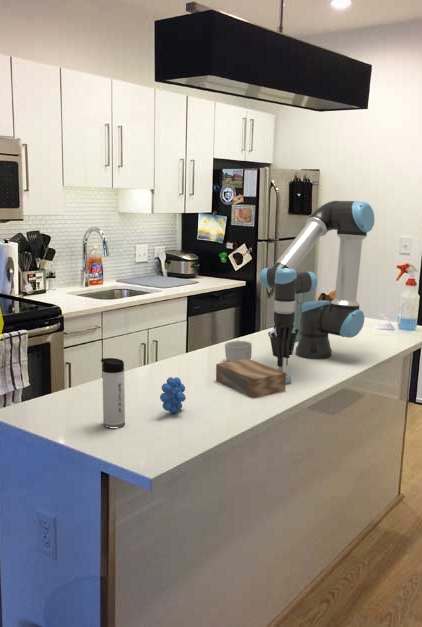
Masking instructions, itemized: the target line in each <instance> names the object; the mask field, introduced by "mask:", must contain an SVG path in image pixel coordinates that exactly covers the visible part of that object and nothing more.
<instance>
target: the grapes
mask: <svg viewBox="0 0 422 627" xmlns="http://www.w3.org/2000/svg"><path fill="white" fill-rule="evenodd" d="M161 390H162V393H161V394H160V395H159V399H160V401H161V402H162V408H163V410H164V411H165V412H167V411H168V412H169V413H170V414H175V413H176V412H177V411H180V410H182V408H183V402H184V401H185V400H186V398H187V397H186V395H185V391H186V386H185V385H184V383H182V381H181V378H180V377H172V376H170V377H168V378H167V379H166V383H165V382H164V383H163V384H162V385H161Z"/></svg>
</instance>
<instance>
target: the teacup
mask: <svg viewBox="0 0 422 627" xmlns="http://www.w3.org/2000/svg"><path fill="white" fill-rule="evenodd" d="M252 345H253V343H252V342H251V341H247V340H246V341H245V340H239V339H237V340H233V341H232V340H231V341H228V342H226V343H224V352H225V359H226V360H227V362H230V361H236V360H242V359H250V360H252V359H251V358H252V353H253V352H252V351H253V350H252Z"/></svg>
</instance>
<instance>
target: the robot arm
mask: <svg viewBox="0 0 422 627" xmlns="http://www.w3.org/2000/svg"><path fill="white" fill-rule="evenodd" d="M374 224H375V212H374V209H373V208H372V206H371V205H370V203H368V202H365V201H360V200H359V201H358V200H332V201H328V202H326V203H323V205H320V207H318V208H317V209H316V210H314V211H313V212H312V213H311V214H310V216H308V218H306V221H305V226H304V227H303V228H302V229H301V231H300V232H299V233H298V234H297V235H296V237H295V238H294V239H293V240H292V242H291V243H290V245H289V246H287V248H286V250H285V251H284V252H283V253H282V254H281V255H280V257H278V259H277V261H276V262H275V263H274V264H273V265H272V267H265V268H263V269H262V270H261V272H260V273H259V282H260V284H261V286H263V287H266V288H269V289H274V298H273V299H274V302H273V303H274V304H273V322H274V326H273V329H272V330H271V331H268V333H267V335H268V337H269V339H270V345H271V351H272V356H274V357H275V358H277V363H276V364H277V367H278V369H277V370H279V371H282V372H285V373H286V374H287V366H288V364H289V363H288V360H289V359H290V358H291V356H293V353H294V347H295V344H296V342H295V340H296V335H297V333H298V332H299V330H298V329H295V328H294V325H293V323H294V320H295V313H294V311H295V294H298V293H304V292H309V291H312V290H314V289H315V290H316V288H317V286H318V277H317V275H316V274H315V273H314V272H312V271H307V270H306V271H297V270H296V269H297V267H299V265H300V264H301V262H303V260H304V258H305V257H306V256H307V255H308V253H309V252H310V251H311V249H313V247H314V246H315V244H316V243H317V242H318V241H319V239H320V238H321V237H323V236H325V235H326V234H327V233H328V232H330V231H333V230H335V231H336V236H337V237H338V238H339V248H338V249H339V250H338V259H337V261H338V262H337V269H336V270H337V272H336V281H335V282H336V283H335V292H334V299H332V300H331V301H330V300H325V299H324V300H314V301H308V302H305V303H303V305H302V311H301V336H300V339H299V341H297V342H298V343H297V346H296V347H295V355H296V356H298V357H300V358H301V357H302V358H304V359H311V360H312V359H313V360H314V359H315V360H321V359H328V358H331V357H332V355H333V354H332V352H333V349H332V348H331V343H330V338H329V334H330V335H334V336H339V337H342V338H355V337H356V336H357V335H358V334H360V332H361V331H362V329H363V326H364V323H365V315H364V312H363V311H362V310H361V309H360V306H361V305H360V303H359V302H358V301H357V300H358V299H357V296H358V286H359V278H360V277H359V276H360V269H361V268H360V267H361V265H360V264H361V258H362V257H361V256H362V246H363V241H364V240H365V239H366V238H367V236H368V233H369V232H371V231H372V230H373V227H374Z"/></svg>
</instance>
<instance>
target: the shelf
mask: <svg viewBox="0 0 422 627" xmlns="http://www.w3.org/2000/svg"><path fill="white" fill-rule="evenodd" d="M215 374H216V375H215V381H216V383H220V384H221V385H224V386H226V387H228V388H230V389H233V390H235V391H236V392H240V393H241V394H244V395H246V396H248V397H250V398H252V399H256V398H260V397H265V396H268V395H269V396H270V395H273V394H277V393H282V392H286V386H287V385H286V374H287V372H286V373H285V372H282V371H279V370H278V369H276V368H274V367H270V366H269V365H265V364H263V363H260V362H257V361H256V360H255V361H254V360H253V359H242V360H236V361H230V362H229V361H225V362H219V363H216V366H215Z"/></svg>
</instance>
